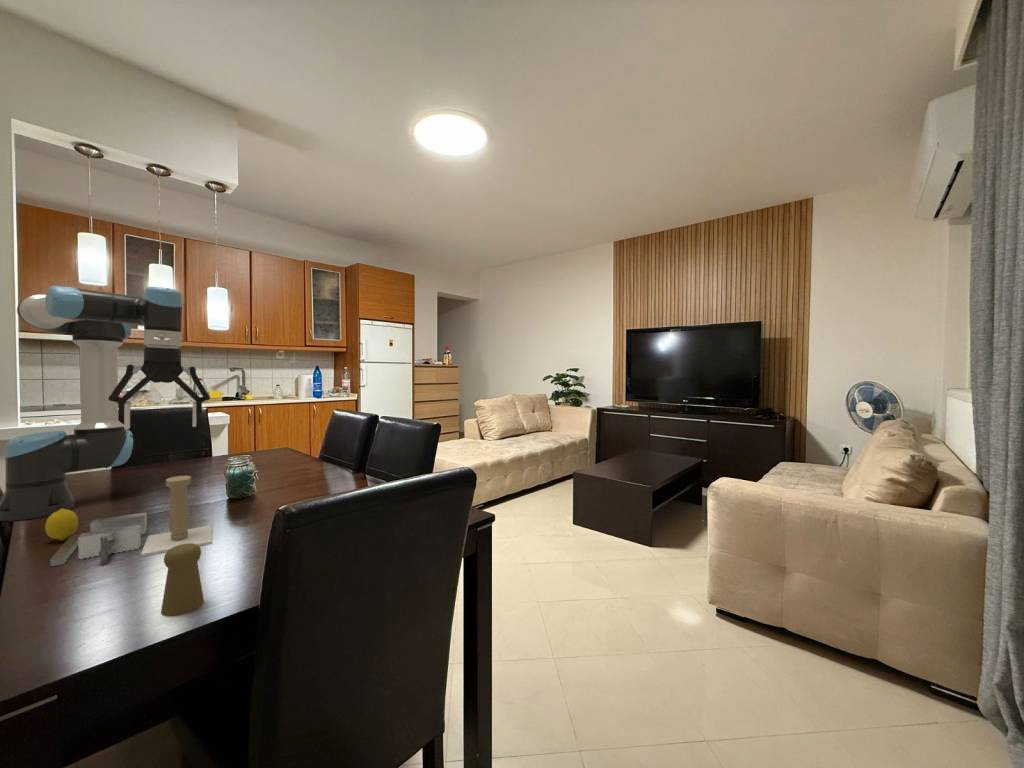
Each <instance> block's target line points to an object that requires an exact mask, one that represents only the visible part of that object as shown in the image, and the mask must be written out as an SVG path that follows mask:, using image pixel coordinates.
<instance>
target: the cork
mask: <svg viewBox="0 0 1024 768" xmlns="http://www.w3.org/2000/svg"><path fill="white" fill-rule="evenodd" d="M201 549H202V548H201V546H198V545H197V544H193V543H188V544H182V545H178V546H175V547H173V548H171V549H169V550H168V551H167V552H165V554H164V557H163V564H164V566H165V567H167V573H166V579H165V585H164V591H163V598H162V605H161V609H160V610H161V611H160V614H161V615H162V616H163V617H170V616H171V617H178V616H182V614H183V615H185V613H186V614H188V612H189V613H191V612H193V611H196V610H198V609H199V608H200V607H201V606H202V605H203V604H204V602H205V599H204V593H203V586H202V582H201V577H200V570H199V564H198V562H199V560H200V558H201V556H202V555H201V554H202V550H201ZM199 606H200V607H199ZM198 607H199V608H198Z"/></svg>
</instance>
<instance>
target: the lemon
mask: <svg viewBox="0 0 1024 768" xmlns="http://www.w3.org/2000/svg"><path fill="white" fill-rule="evenodd" d="M78 517H79V516H78V515H77V514H76V512H75V511H73V510H72V509H70V510H66V509H64V508H63V509H60V510H59V511H56V512H54V513H53V514H51V515H49V516H48V517H47V520H46V522H45V526H44V528H45V533H46V535H47V536H48V537H49V538H50V539H54V540H58V541H61V542H63V541H65V540H66V539H68V538H69V537H70V536H71V535H74V533H75V532H76V531H77V529H78V526H79V518H78ZM62 540H63V541H62Z"/></svg>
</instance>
